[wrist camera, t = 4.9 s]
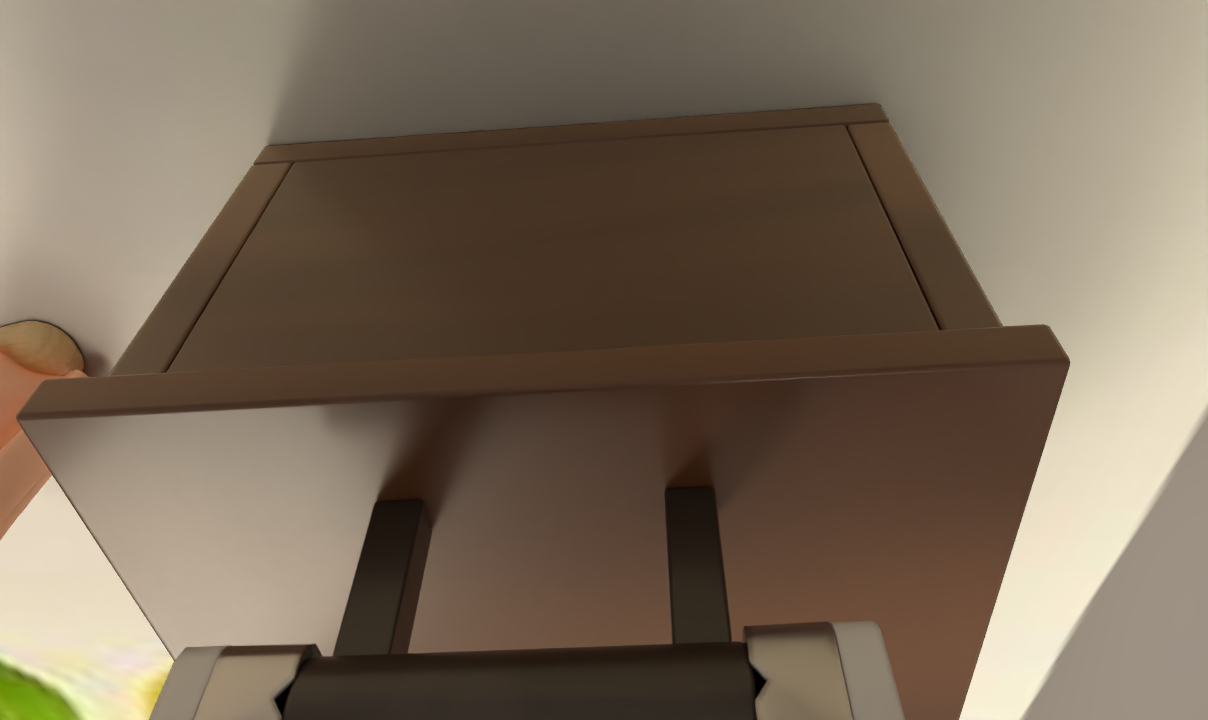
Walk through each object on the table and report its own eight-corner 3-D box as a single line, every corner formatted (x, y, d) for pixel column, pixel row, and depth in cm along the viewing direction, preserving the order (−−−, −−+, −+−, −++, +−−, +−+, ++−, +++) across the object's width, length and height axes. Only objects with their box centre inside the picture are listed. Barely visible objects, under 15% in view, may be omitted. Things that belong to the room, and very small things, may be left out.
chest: (263, 145, 20) (74, 419, 13) (880, 102, 19) (1031, 369, 12) (413, 592, 30) (352, 885, 23) (825, 576, 29) (891, 874, 22)
